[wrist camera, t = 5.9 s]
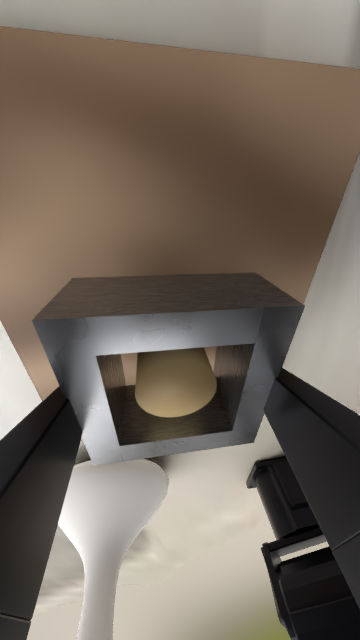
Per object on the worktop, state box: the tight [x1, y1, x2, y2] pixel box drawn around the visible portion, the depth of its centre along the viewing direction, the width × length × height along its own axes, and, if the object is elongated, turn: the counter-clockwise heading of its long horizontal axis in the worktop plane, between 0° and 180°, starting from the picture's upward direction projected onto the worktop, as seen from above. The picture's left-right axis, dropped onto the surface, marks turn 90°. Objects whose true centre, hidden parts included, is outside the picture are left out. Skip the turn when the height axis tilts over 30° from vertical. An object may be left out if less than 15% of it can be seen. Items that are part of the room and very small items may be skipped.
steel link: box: [32, 272, 305, 466], centre depth 8 cm, size 7×7×3 cm
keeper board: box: [0, 26, 360, 441], centre depth 10 cm, size 20×16×6 cm
